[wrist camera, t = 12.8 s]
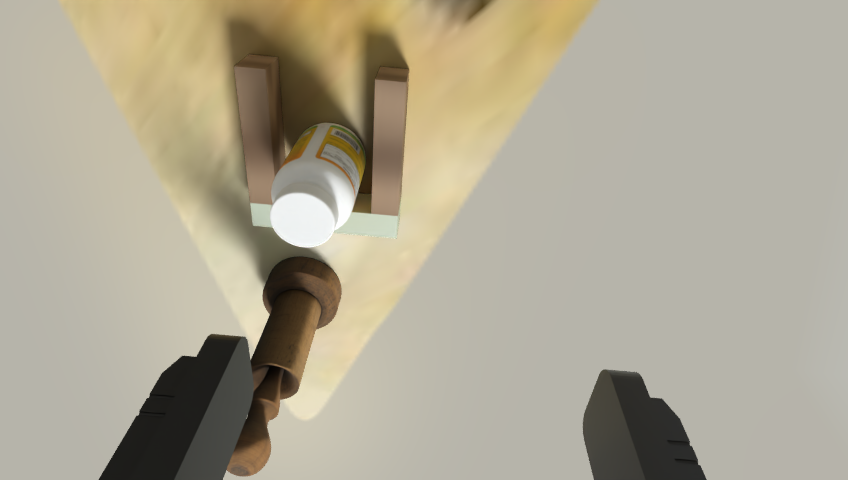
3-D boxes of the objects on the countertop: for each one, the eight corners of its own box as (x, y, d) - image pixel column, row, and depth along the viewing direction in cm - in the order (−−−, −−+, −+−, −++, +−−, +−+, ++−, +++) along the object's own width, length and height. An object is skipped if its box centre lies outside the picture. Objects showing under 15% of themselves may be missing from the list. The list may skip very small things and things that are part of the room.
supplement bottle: (302, 186, 41) (266, 257, 33) (290, 121, 38) (248, 181, 30) (370, 186, 41) (350, 257, 33) (363, 120, 38) (341, 181, 30)
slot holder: (249, 54, 36) (233, 66, 33) (409, 69, 36) (406, 82, 33) (264, 206, 42) (252, 225, 40) (399, 218, 43) (396, 238, 40)
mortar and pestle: (357, 295, 47) (314, 482, 32) (303, 324, 49) (240, 511, 34) (308, 244, 44) (237, 423, 29) (253, 276, 46) (161, 459, 32)
